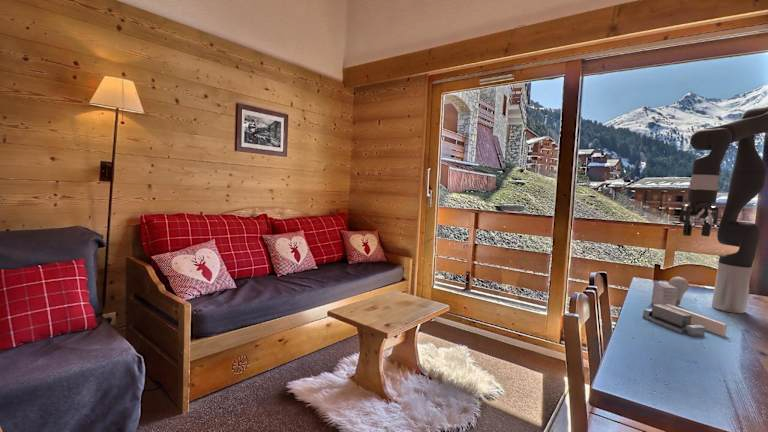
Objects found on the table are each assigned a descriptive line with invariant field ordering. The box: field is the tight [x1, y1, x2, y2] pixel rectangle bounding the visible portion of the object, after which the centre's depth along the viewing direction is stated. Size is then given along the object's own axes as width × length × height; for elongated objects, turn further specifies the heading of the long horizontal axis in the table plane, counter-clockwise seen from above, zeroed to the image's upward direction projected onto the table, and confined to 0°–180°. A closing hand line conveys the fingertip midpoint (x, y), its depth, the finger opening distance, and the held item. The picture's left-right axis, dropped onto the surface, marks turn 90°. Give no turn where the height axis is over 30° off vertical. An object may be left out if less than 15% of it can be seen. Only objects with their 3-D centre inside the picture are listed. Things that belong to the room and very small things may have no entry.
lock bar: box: [651, 304, 692, 332], centre depth 123 cm, size 4×10×5 cm, turn 16°
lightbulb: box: [668, 276, 690, 306], centre depth 144 cm, size 6×6×11 cm
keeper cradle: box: [642, 308, 706, 337], centre depth 122 cm, size 8×16×2 cm, turn 16°
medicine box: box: [651, 281, 678, 307], centre depth 140 cm, size 8×4×9 cm, turn 168°
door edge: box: [665, 304, 728, 337], centre depth 124 cm, size 2×18×4 cm, turn 15°
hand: (696, 235), depth 131 cm, fingers open, 8 cm apart
